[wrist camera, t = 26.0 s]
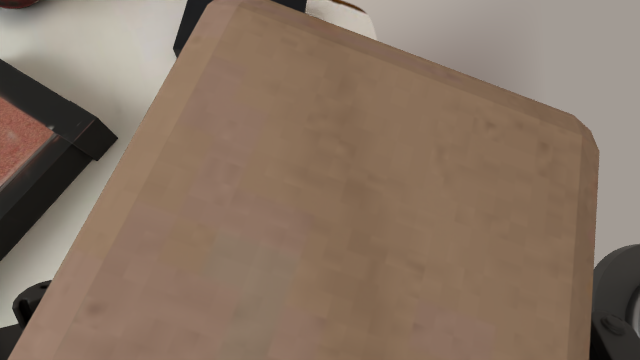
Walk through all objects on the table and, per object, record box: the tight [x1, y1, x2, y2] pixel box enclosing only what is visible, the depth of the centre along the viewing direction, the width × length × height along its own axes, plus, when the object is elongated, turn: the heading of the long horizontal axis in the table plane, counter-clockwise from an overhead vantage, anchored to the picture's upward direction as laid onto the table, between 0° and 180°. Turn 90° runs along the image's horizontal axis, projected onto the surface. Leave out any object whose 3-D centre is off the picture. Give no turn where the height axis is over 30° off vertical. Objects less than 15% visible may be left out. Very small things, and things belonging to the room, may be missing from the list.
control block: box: [173, 0, 307, 58], centre depth 42 cm, size 14×11×4 cm
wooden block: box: [8, 0, 599, 360], centre depth 16 cm, size 10×10×20 cm
